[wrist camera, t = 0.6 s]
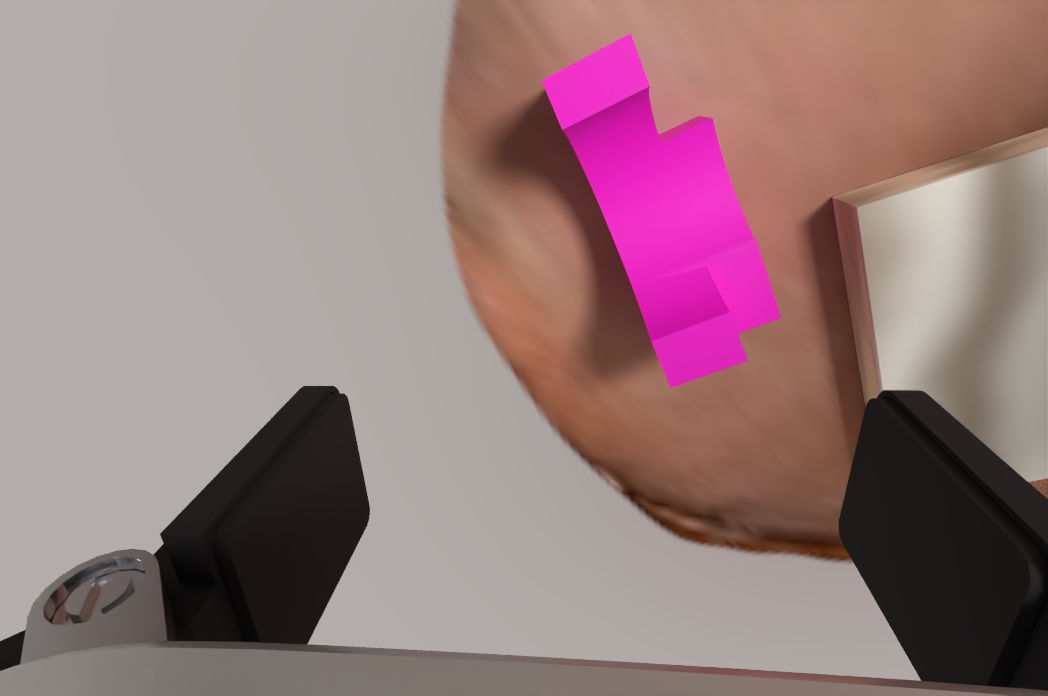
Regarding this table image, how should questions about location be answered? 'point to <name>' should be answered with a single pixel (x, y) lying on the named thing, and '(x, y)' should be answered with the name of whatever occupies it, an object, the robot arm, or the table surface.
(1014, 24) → the table surface
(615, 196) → the toy block
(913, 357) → the plinth
